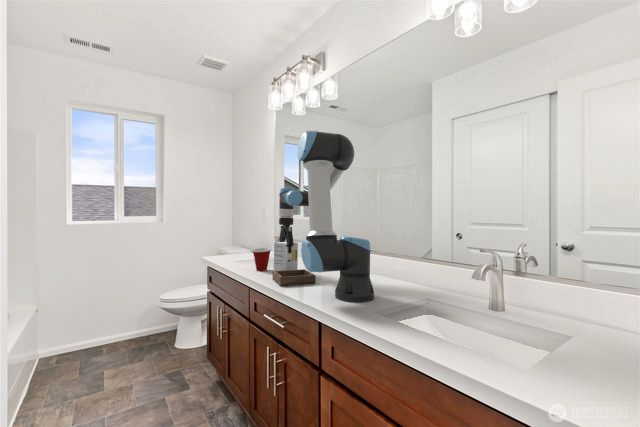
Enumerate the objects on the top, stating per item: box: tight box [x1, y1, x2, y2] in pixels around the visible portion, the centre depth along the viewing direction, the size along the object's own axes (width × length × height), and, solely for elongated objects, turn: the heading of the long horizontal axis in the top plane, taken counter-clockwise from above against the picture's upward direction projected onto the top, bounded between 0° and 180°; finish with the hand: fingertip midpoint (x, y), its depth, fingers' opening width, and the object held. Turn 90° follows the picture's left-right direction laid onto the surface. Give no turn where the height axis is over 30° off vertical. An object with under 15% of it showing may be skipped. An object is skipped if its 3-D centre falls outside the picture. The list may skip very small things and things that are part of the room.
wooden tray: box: [272, 268, 316, 288], centre depth 144 cm, size 15×16×4 cm
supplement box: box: [273, 241, 299, 271], centre depth 161 cm, size 10×9×17 cm
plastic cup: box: [251, 247, 272, 272], centre depth 172 cm, size 11×11×12 cm
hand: (285, 257), depth 162 cm, fingers open, 13 cm apart
